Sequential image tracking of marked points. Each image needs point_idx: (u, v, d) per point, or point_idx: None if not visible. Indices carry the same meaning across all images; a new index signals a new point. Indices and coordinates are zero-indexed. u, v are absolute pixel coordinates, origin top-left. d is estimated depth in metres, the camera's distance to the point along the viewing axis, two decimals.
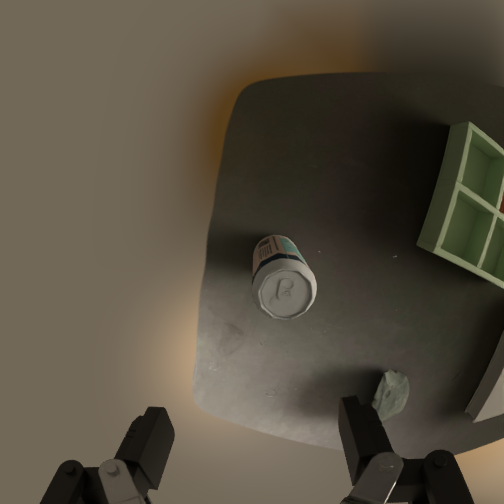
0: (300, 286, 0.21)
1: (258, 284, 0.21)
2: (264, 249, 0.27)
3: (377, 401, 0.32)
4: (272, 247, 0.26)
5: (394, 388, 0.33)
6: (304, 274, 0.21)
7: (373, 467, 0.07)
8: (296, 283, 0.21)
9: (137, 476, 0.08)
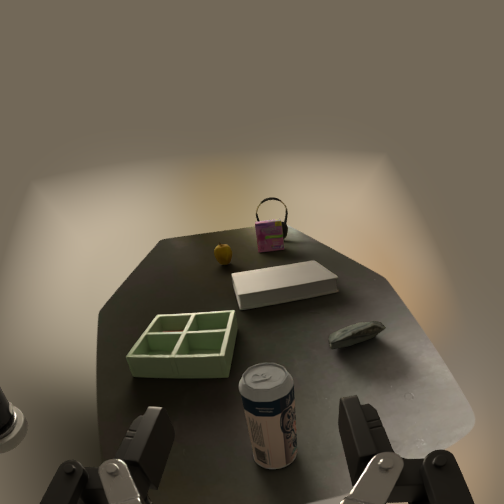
0: (254, 371, 0.25)
1: (265, 393, 0.22)
2: (257, 438, 0.24)
3: (352, 330, 0.43)
4: (250, 430, 0.24)
5: (338, 331, 0.45)
6: (244, 373, 0.25)
7: (373, 467, 0.07)
8: (253, 374, 0.24)
9: (137, 476, 0.08)
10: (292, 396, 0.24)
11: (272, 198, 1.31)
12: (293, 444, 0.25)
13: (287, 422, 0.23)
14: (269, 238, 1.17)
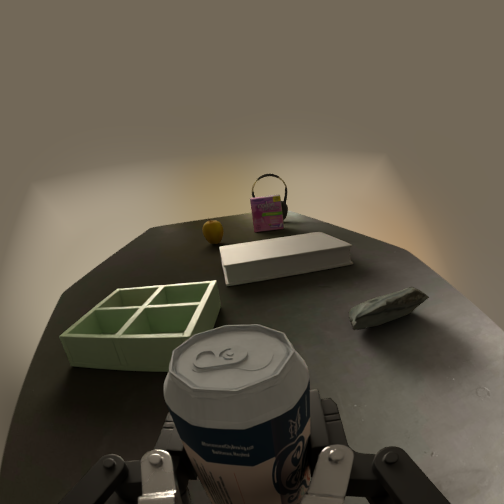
0: (207, 345, 0.10)
1: (224, 404, 0.07)
2: (219, 501, 0.09)
3: (387, 299, 0.28)
4: (203, 482, 0.09)
5: (365, 302, 0.30)
6: (182, 347, 0.10)
7: (323, 458, 0.08)
8: (201, 349, 0.09)
9: (180, 466, 0.09)
10: (305, 411, 0.09)
11: (270, 174, 1.16)
12: None
13: (292, 474, 0.08)
14: (266, 215, 1.02)
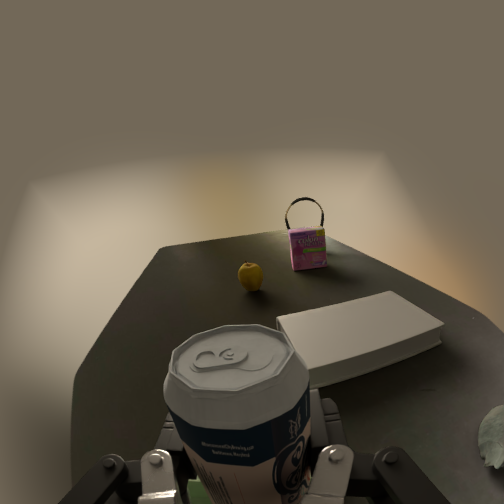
0: (207, 345, 0.10)
1: (224, 404, 0.07)
2: (219, 501, 0.09)
3: None
4: (203, 482, 0.09)
5: (502, 442, 0.15)
6: (182, 347, 0.10)
7: (323, 458, 0.08)
8: (201, 349, 0.09)
9: (180, 466, 0.09)
10: (306, 411, 0.09)
11: (306, 198, 1.01)
12: None
13: (292, 474, 0.08)
14: (308, 252, 0.87)
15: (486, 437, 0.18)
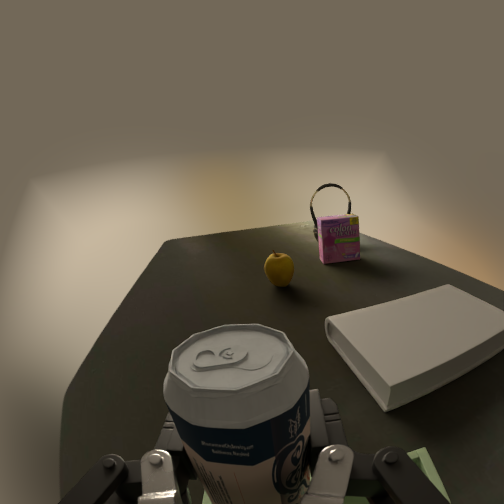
0: (207, 344, 0.10)
1: (224, 403, 0.07)
2: (219, 500, 0.09)
3: None
4: (203, 481, 0.09)
5: None
6: (182, 346, 0.10)
7: (323, 458, 0.08)
8: (201, 349, 0.09)
9: (180, 466, 0.09)
10: (305, 410, 0.09)
11: (332, 184, 0.89)
12: None
13: (291, 473, 0.08)
14: (340, 242, 0.75)
15: None
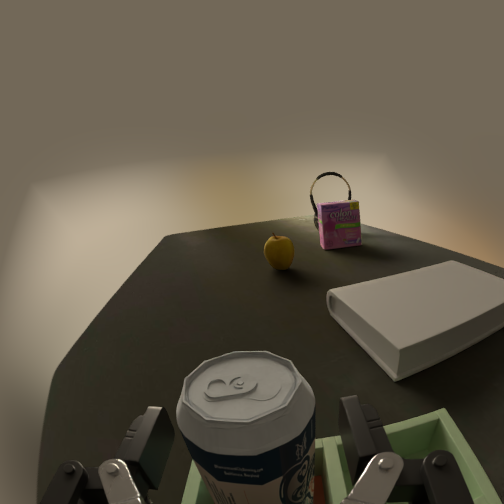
0: (217, 372, 0.10)
1: (236, 433, 0.07)
2: None
3: None
4: (213, 496, 0.09)
5: None
6: (193, 374, 0.10)
7: (373, 467, 0.07)
8: (212, 377, 0.10)
9: (137, 476, 0.08)
10: (311, 433, 0.09)
11: (332, 173, 0.88)
12: None
13: (297, 489, 0.08)
14: (340, 228, 0.74)
15: None
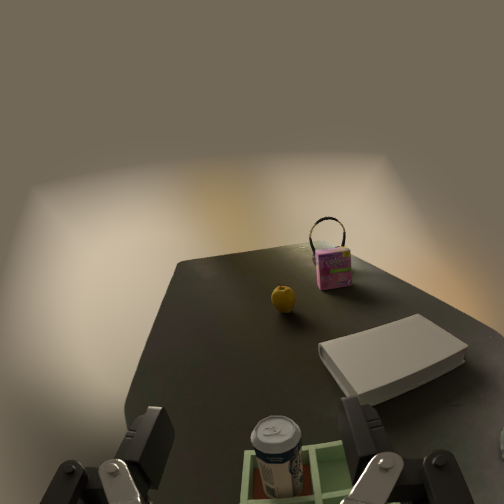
0: (265, 425, 0.25)
1: (275, 446, 0.22)
2: (267, 478, 0.24)
3: None
4: (261, 471, 0.24)
5: None
6: (256, 426, 0.25)
7: (373, 467, 0.07)
8: (264, 427, 0.25)
9: (137, 476, 0.08)
10: (299, 445, 0.24)
11: (329, 218, 1.03)
12: (300, 480, 0.25)
13: (295, 466, 0.23)
14: (334, 272, 0.89)
15: None
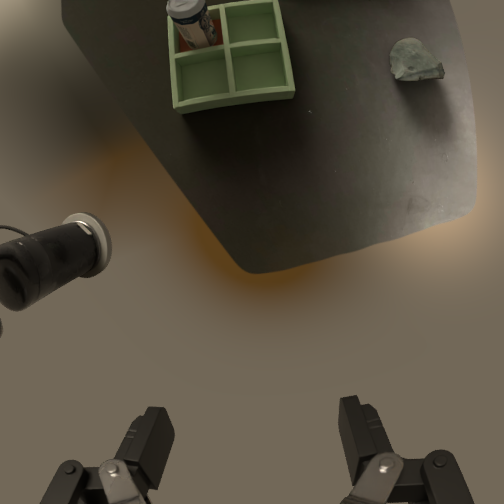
0: None
1: (184, 13, 0.25)
2: (186, 35, 0.31)
3: (419, 75, 0.32)
4: (180, 31, 0.30)
5: (404, 64, 0.33)
6: (169, 0, 0.24)
7: (373, 467, 0.07)
8: (175, 0, 0.24)
9: (137, 476, 0.08)
10: (205, 8, 0.26)
11: None
12: (212, 33, 0.33)
13: (204, 24, 0.29)
14: None
15: (396, 53, 0.34)
